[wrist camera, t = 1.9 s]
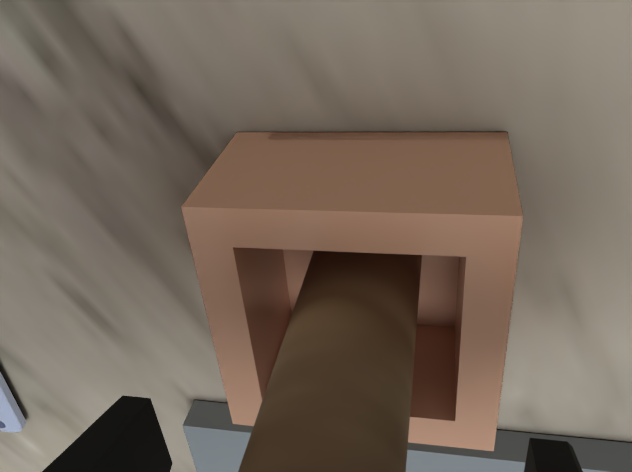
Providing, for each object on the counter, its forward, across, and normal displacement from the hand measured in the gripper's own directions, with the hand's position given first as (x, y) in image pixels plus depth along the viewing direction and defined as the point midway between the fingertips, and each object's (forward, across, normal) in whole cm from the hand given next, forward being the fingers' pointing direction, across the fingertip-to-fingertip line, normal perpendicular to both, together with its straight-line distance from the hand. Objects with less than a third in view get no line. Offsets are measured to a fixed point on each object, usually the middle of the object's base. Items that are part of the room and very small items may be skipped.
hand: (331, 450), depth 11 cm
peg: (+7, 0, 0) cm, 7 cm away
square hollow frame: (+7, 0, 0) cm, 7 cm away
